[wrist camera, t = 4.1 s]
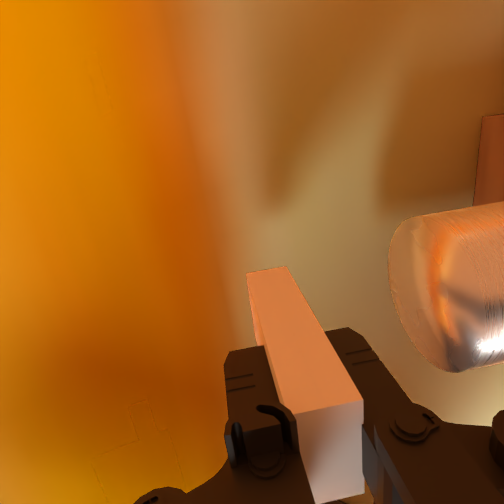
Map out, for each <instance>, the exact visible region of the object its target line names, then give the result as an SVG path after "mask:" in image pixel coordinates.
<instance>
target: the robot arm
mask: <svg viewBox="0 0 504 504" xmlns="http://www.w3.org/2000/svg"><path fill="white" fill-rule="evenodd" d="M246 278H247V285H248V292H249V298H250V305H251V312H252V318H253V325H254V331H255V337H256V341H257V345H258V346H256V347H251V348H246V349H240V350H235V351H230V352H229V354H228V356H227V359H226V361H225V363H224V374H225V385H226V393H227V394H226V395H227V406H228V416H229V420H228V421H227V423H226V426H225V433H224V438H225V443H226V448H227V452H228V459H227V460H226V462H225V464H224V465H223V467H222V468H221V469H220V471H219V472H218V473H217V474H216V475H215V476H214V477H212V478H211V479H210V480H208V481H207V482H205V483H204V484H202V485H200V486H199V487H197V488H195V489H193V490H192V491H190V492H188V493H187V494H186V493H185V492H183V491H182V490H181V489H177V488H172V487H164V488H158V489H154V490H152V491H150V492H149V493H147V494H145V495H143V496H141V497H140V498H139V499H138V500H137V501H136V502H135V503H134V504H345V503H342V502H340V501H337V500H338V499H342V498H347V497H351V496H355V495H359V494H364V493H365V491H364V478H365V480H366V482H367V484H368V486H369V489H370V491H371V493H372V495H373V497H374V504H504V410H501V411H499V412H498V413H497V414H496V415H495V416H494V417H493V422H492V427H490V426H476V425H462V424H454V423H448V422H444V421H442V420H441V419H440V418H439V417H438V416H436V415H435V414H434V413H433V412H432V411H430V410H428V409H426V408H425V407H423V406H421V405H418V404H414V403H412V402H411V401H410V399H409V398H408V397H407V395H406V394H405V392H404V391H403V390H402V388H401V387H400V386H399V384H398V383H397V382H396V380H395V379H394V378H393V376H392V375H391V374H390V372H389V371H388V370H387V368H386V367H385V366H384V364H383V363H382V362H381V361H380V360H379V358H378V356H377V355H376V354H375V352H374V351H372V348H371V347H370V345H369V344H368V343H367V341H366V340H365V339H364V337H363V336H362V335H360V334H358V333H357V332H355V331H353V330H352V329H350V328H349V327H347V328H342V329H337V330H332V331H326V332H324V331H323V329H322V327H321V326H320V324H319V322H318V321H317V319H316V317H315V315H314V314H313V312H312V310H311V308H310V307H309V305H308V303H307V302H306V300H305V298H304V296H303V295H302V293H301V291H300V289H299V288H298V286H297V284H296V283H295V281H294V279H293V277H292V276H291V274H290V272H289V271H288V269H287V267H286V266H284V267H278V268H273V269H267V270H261V271H256V272H250V273H246Z"/></svg>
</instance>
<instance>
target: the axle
mask: <svg viewBox="0 0 504 504" xmlns="http://www.w3.org/2000/svg"><path fill="white" fill-rule="evenodd" d="M388 276H389V284H390V290H391V295H392V298H393V302H394V305H395V308H396V311H397V314H398V316H399V319H400V321H401V323H402V326H403V328H404V329H405V331H406V333H407V335H408V337H409V338H410V340H411V341H412V343H413V344H414V346H415V347H416V348H417V350H418V351H419V352H420V353H421V354H422V355H423V356H424V357H425V358H426V359H427V360H428V361H429V362H430V363H432V364H433V365H434V366H436V367H438V368H439V369H442V370H444V371H447V372H452V373H458V372H463V371H468V370H473V369H477V368H482V367H487V366H491V365H496V364H501V363H504V201H502V202H496V203H490V204H484V205H479V206H473V207H467V208H461V209H455V210H449V211H444V212H438V213H432V214H426V215H420V216H415V217H411V218H408V219H406V220H405V221H403V222H402V223H401V224H400V225H399V226H398V228H397V229H396V231H395V233H394V235H393V237H392V240H391V243H390V248H389V254H388Z"/></svg>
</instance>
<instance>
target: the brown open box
mask: <svg viewBox="0 0 504 504" xmlns="http://www.w3.org/2000/svg"><path fill="white" fill-rule="evenodd" d="M502 201H504V114H500V115H493V116H487V117H483V119H482V128H481V138H480V147H479V156H478V166H477V175H476V184H475V194H474V203H473V206H479V205H484V204H490V203H496V202H502Z"/></svg>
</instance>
